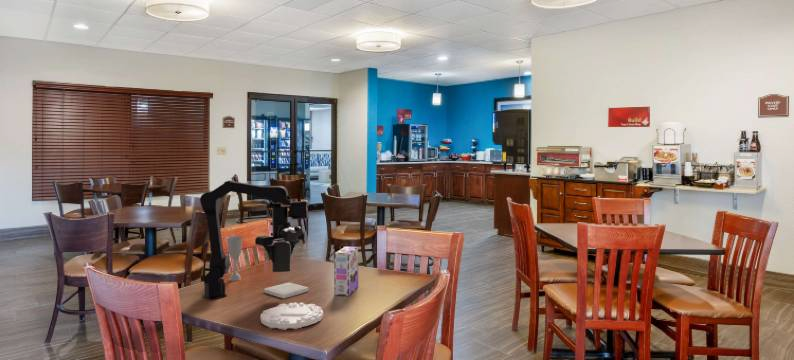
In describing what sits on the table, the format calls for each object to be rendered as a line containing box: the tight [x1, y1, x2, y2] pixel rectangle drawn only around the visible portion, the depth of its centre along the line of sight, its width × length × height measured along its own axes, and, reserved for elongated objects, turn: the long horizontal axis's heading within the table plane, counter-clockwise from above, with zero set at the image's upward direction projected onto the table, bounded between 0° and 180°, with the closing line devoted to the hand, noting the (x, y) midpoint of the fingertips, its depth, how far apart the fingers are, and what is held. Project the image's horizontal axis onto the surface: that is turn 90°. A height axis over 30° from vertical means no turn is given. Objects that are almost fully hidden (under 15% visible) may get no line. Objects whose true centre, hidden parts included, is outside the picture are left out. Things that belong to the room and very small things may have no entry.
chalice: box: [225, 235, 243, 282], centre depth 209 cm, size 7×7×18 cm
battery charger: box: [271, 240, 292, 273], centre depth 187 cm, size 7×4×11 cm, turn 100°
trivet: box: [263, 282, 309, 299], centre depth 191 cm, size 12×12×2 cm
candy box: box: [333, 246, 359, 297], centre depth 192 cm, size 14×6×16 cm, turn 168°
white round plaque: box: [260, 302, 324, 330], centre depth 161 cm, size 20×20×3 cm
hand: (281, 260), depth 187 cm, fingers closed on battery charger, 7 cm apart
